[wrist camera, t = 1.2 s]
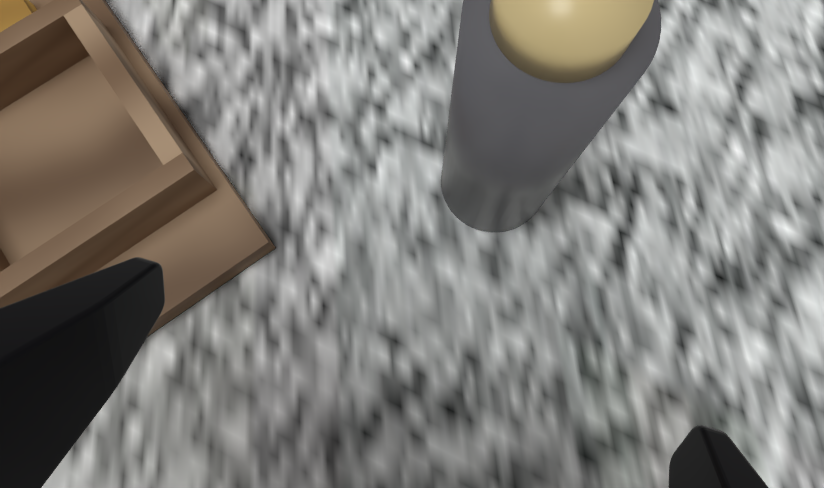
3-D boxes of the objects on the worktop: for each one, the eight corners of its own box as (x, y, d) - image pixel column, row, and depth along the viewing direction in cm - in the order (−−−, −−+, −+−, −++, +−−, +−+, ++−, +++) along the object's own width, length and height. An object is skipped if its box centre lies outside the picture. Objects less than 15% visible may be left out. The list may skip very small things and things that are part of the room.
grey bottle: (566, 192, 25) (731, 2, 12) (483, 253, 24) (558, 125, 11) (502, 113, 25) (590, -148, 12) (420, 170, 25) (422, -39, 12)
